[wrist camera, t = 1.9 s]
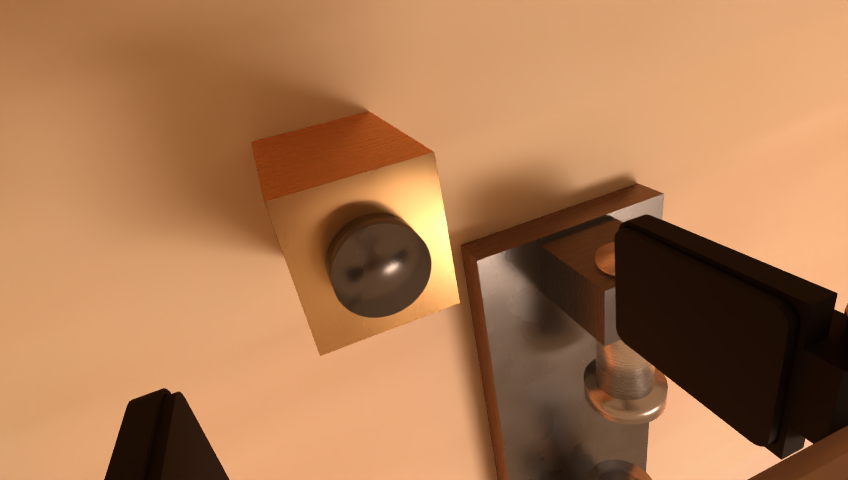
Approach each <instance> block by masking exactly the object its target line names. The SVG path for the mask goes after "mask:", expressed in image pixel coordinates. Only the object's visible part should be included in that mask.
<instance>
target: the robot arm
mask: <svg viewBox="0 0 848 480" xmlns="http://www.w3.org/2000/svg"><path fill="white" fill-rule="evenodd" d="M614 243H615V302H616V331H617V334H618V336H619V337H620V339H621V340H622V341H623V342H624V343H625V344H626V345H627V346H628V347H630V348H631V349H632V350H634V351H635V352H636V353H637V354H639V355H640V356H641V357H643V358H644V359H645V360H646V361H648V362H649V363H650V364H652V365H653V366H654V367H655V368H657V369H658V370H659V371H661V372H662V373H663V374H664V375H666V376H667V377H668V378H670V379H671V380H672V381H673V382H675V383H676V384H677V385H678V386H680V387H681V388H682V389H684V390H685V391H686V392H687V393H689V394H690V395H691V396H693V397H694V398H695V399H696V400H698V401H699V402H700V403H702V404H703V405H704V406H705V407H707V408H708V409H709V410H711V411H712V412H713V413H714V414H716V415H717V416H718V417H720V418H721V419H722V420H723V421H725V422H726V423H727V424H729V425H730V426H731V427H732V428H734V429H735V430H736V431H738V432H739V433H740V434H741V435H743V436H744V437H745V438H747V439H748V440H749V441H750V442H752V443H754V444H755V445H758V446H764V447H766V448H767V449H768V450H770V451H771V452H772V453H773V454H775V455H776V456H777V457H779V458H780V459H781V460H782V459H784V458H785V457H787V456H789V455H791V454H793V453H794V452H796V451H798V450H800V449H802V448H803V446H804V442H805V438H806V439H807V440H809V441H810V442H812V443H813V445H811V446H809V447H807V448H805V449H803V450H802V451H800V452H798V453H796V454H794V455H792V456H790V457H789V458H787V459H785V460H783V461H781V462H779V463H778V464H776V465H774V466H772V467H770V468H768V469H766V470H765V471H763V472H761V473H759V474H757V475H755V476H753V477H752V478H750V479H748V480H848V304H847V306H846V308H845V312H844V314H843V313H841V312H839V311H837V310H834V307H835V303H836V298H837V294H838V293H836V292H833V291H831V290H828V289H826V288H824V287H821V286H819V285H816V284H814V283H812V282H809V281H807V280H805V279H802V278H800V277H797V276H795V275H793V274H790V273H788V272H785V271H783V270H781V269H778V268H776V267H773V266H771V265H769V264H766V263H764V262H761V261H759V260H757V259H754V258H752V257H749V256H747V255H745V254H742V253H740V252H738V251H735V250H733V249H730V248H728V247H726V246H723V245H721V244H718V243H716V242H714V241H711V240H709V239H706V238H704V237H702V236H699V235H697V234H694V233H692V232H690V231H687V230H685V229H682V228H680V227H678V226H675V225H673V224H671V223H668V222H666V221H663V220H661V219H659V218H656V217H654V216H651V215H647V214H646V215H642V216H639V217H636V218H633V219H630V220H628V221H625V222H623V223H622V224H620V227H619V230H618V231H617V232H616V234H615V238H614ZM104 480H229V478H228V476H227V474H226V473H225V471H224V469H223V467H222V465H221V463H220V461H219V460H218V458H217V456H216V454H215V452H214V450H213V449H212V447H211V445H210V443H209V441H208V439H207V438H206V436H205V434H204V432H203V430H202V428H201V426H200V425H199V423H198V421H197V419H196V417H195V415H194V414H193V412H192V410H191V408H190V406H189V404H188V403H187V401H186V399H185V397H184V396H183V394H182V393H181V392H176V393H173V394H171V393H170V391H168V390H167V389H165V388H163V389H160V390H158V391H155V392H152V393H149V394H147V395H144V396H141V397H138V398H136V399H133V400H131V401H129V403H128V405H127V408H126V411H125V414H124V418H123V421H122V424H121V427H120V431H119V434H118V437H117V440H116V444H115V447H114V450H113V453H112V457H111V460H110V463H109V466H108V470H107V473H106V476H105V479H104Z"/></svg>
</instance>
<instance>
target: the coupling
mask: <svg viewBox="0 0 848 480" xmlns="http://www.w3.org/2000/svg"><path fill="white" fill-rule="evenodd" d="M251 143H252V147H253V152H254V156H255V161H256V166H257V170H258V175H259V179H260V184H261V189H262V193H263V198H264V202H265V205H266V208H267V210H268V213H269V216H270V219H271V222H272V224H273V227H274V230H275V233H276V235H277V238H278V241H279V244H280V246H281V249H282V252H283V255H284V257H285V260H286V263H287V266H288V268H289V271H290V274H291V277H292V279H293V282H294V285H295V288H296V291H297V293H298V296H299V299H300V302H301V304H302V307H303V310H304V313H305V315H306V318H307V321H308V324H309V326H310V329H311V332H312V335H313V337H314V340H315V343H316V346H317V348H318V351H319V354H320V356H321V355H324V354H327V353H329V352H332V351H334V350H337V349H340V348H342V347H345V346H348V345H350V344H353V343H356V342H358V341H361V340H363V339H366V338H369V337H371V336H374V335H377V334H379V333H382V332H384V331H387V330H390V329H392V328H395V327H398V326H400V325H403V324H406V323H408V322H411V321H413V320H416V319H419V318H421V317H424V316H427V315H429V314H432V313H434V312H437V311H440V310H442V309H445V308H448V307H450V306H453V305H456V304H458V303H460V300H459V294H458V289H457V283H456V277H455V271H454V265H453V259H452V253H451V248H450V242H449V236H448V230H447V224H446V218H445V212H444V207H443V201H442V195H441V189H440V183H439V177H438V172H437V166H436V160H435V154H434V152H433V151H432V150H430V149H429V148H427V147H425V146H424V145H422V144H421V143H419V142H417V141H416V140H414V139H413V138H411V137H409V136H408V135H406V134H405V133H403V132H401V131H400V130H398V129H397V128H395V127H393V126H392V125H390V124H389V123H387V122H386V121H384V120H382V119H381V118H379V117H378V116H376V115H374V114H373V113H371V112H370V111H368V112H365V113H361V114H357V115H353V116H349V117H345V118H342V119H338V120H334V121H330V122H326V123H323V124H319V125H315V126H311V127H307V128H303V129H300V130H296V131H292V132H288V133H284V134H280V135H277V136H273V137H269V138H265V139H261V140H258V141H254V142H251Z"/></svg>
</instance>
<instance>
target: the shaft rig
mask: <svg viewBox="0 0 848 480" xmlns="http://www.w3.org/2000/svg"><path fill="white" fill-rule="evenodd" d="M663 199H664V194H663V193H661V192H658V191H656V190H653V189H651V188H648V187H646V186H643V185H641V184H636V185H633V186H630V187H627V188H624V189H622V190H619V191H616V192H613V193H610V194H607V195H604V196H602V197H599V198H596V199H593V200H590V201H587V202H584V203H581V204H579V205H576V206H573V207H570V208H567V209H564V210H561V211H558V212H556V213H553V214H550V215H547V216H544V217H541V218H538V219H535V220H533V221H530V222H527V223H524V224H521V225H518V226H515V227H513V228H510V229H507V230H504V231H501V232H498V233H495V234H492V235H490V236H487V237H484V238H481V239H478V240H475V241H472V242H469V243H467V244H464V245H461V249H462V256H463V262H464V268H465V274H466V281H467V287H468V293H469V299H470V306H471V312H472V318H473V325H474V331H475V337H476V343H477V350H478V356H479V362H480V369H481V375H482V381H483V387H484V394H485V400H486V406H487V412H488V419H489V425H490V431H491V438H492V444H493V450H494V456H495V463H496V469H497V475H498V480H652V479H651V478H650V476H649V475H648V474H647V473H646V460H647V445H648V429H649V422H650V421H653V420H654V419H656V418H657V417H659V416H660V415H661V414H662V412H663V411H664V409H665V406H666V400H667V388H668V385H667V380H666V378H665V375H664V374H663V373H662V372H661V371H659V370H658V369H657V368H655V367H654V366H653V365H652V364H650V363H649V362H648V361H646V360H645V359H644V358H643V357H641V356H640V355H639V354H637V353H636V352H635V351H634V350H632V349H631V348H630V347H628V346H627V345H626V344H625V343H624V342H623V341H622V340H621V339H620V337H619V336H618V334H617V331H616V302H615V243H614V238H615V234H616V232H617V231H618V230H619V227H620V224H622V223H623V222H625V221H628V220H630V219H633V218H636V217H639V216H642V215H646V214H647V215H651V216H654V217H656V218H659V219H661V220H662V215H663Z"/></svg>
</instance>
